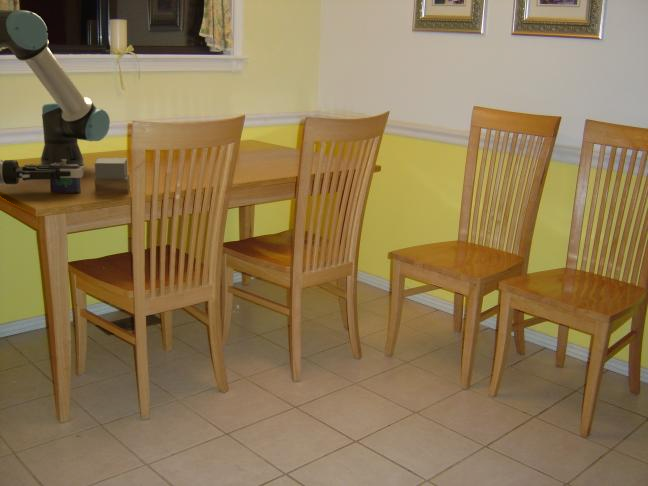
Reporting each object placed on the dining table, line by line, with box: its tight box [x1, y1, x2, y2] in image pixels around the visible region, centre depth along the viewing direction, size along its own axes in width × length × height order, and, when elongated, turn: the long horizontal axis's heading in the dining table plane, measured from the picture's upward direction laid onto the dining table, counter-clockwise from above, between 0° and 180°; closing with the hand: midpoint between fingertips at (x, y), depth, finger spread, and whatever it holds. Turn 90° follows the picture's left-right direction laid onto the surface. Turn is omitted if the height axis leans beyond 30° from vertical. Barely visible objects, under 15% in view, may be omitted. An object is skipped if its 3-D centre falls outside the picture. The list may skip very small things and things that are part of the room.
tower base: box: [94, 172, 131, 195], centre depth 245 cm, size 10×10×5 cm
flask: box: [49, 159, 82, 194], centre depth 239 cm, size 9×3×11 cm, turn 95°
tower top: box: [94, 157, 128, 180], centre depth 244 cm, size 9×9×5 cm
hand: (82, 172), depth 240 cm, fingers closed on flask, 3 cm apart
